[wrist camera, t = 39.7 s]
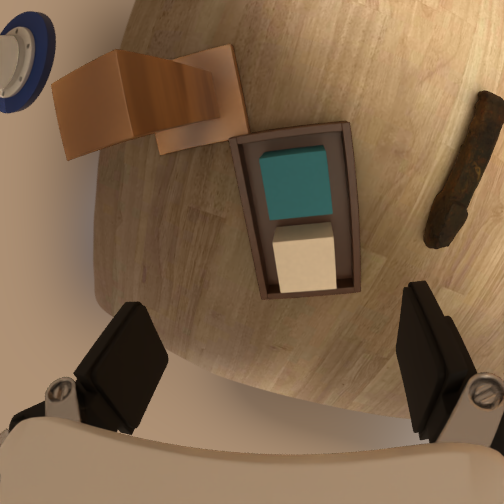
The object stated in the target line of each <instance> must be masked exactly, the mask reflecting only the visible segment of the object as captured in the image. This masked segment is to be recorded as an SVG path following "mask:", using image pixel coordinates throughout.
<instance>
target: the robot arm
mask: <svg viewBox="0 0 504 504" xmlns="http://www.w3.org/2000/svg"><path fill="white" fill-rule="evenodd" d="M34 57H35V40H34V36H33V34H32V32H31V31H30V29H28V28H26V27H16V28H13V29H12V30H10V31H9V32H8V33H7V34H6V35H0V97H2V98H8V97H12V96H14V95H16V94H17V93H18V92H19V91H20V90H21V89H22V87H23V86H24V84H25V83H26V81H27V79H28V77H29V75H30V72H31V70H32V66H33V62H34ZM396 354H397V359H398V363H399V367H400V371H401V375H402V379H403V383H404V388H405V392H406V397H407V402H408V407H409V412H410V417H411V422H412V427H413V431H414V433H417V432H419V438H420V440H425V439H429V443H428V444H419V445H411V446H403V447H394V448H387V449H379V450H370V451H359V452H346V453H332V454H303V455H281V454H280V455H279V454H253V453H238V452H227V451H226V452H225V451H217V450H208V449H200V448H193V447H186V446H179V445H173V444H168V443H162V442H156V441H152V440H147V439H142V438H138V437H133V436H129V435H132V433H133V431H134V429H135V428H137V427H138V426H139V424H140V422H141V419H142V417H143V415H144V413H145V411H146V408H147V406H148V404H149V402H150V400H151V398H152V396H153V393H154V391H155V389H156V387H157V385H158V383H159V381H160V379H161V376H162V374H163V372H164V370H165V368H166V366H167V364H168V354H167V352H166V350H165V348H164V346H163V344H162V342H161V340H160V338H159V335H158V333H157V331H156V329H155V327H154V325H153V322H152V320H151V318H150V316H149V313H148V311H147V309H146V307H145V306H143V305H142V304H141V303H140V302H126V303H125V304H124V305H123V306H122V307H121V309H120V310H119V311H118V312H117V314H116V315H115V316H114V318H113V319H112V320H111V322H110V323H109V324H108V326H107V327H106V328H105V330H104V331H103V332H102V334H101V335H100V337H99V338H98V339H97V341H96V342H95V343H94V345H93V346H92V348H91V349H90V350H89V352H88V353H87V355H86V356H85V357H84V359H83V360H82V362H81V363H80V364H79V366H78V367H77V369H76V370H75V372H74V375H75V376H76V377H77V380H76V382H75V381H74V380H73V379H72V378H70V377H62V378H59V379H57V380H55V381H54V382H53V383H51V384H50V386H49V387H48V388H47V391H46V393H45V401H43V402H41V403H39V404H37V405H34V406H32V407H30V408H28V409H26V410H24V411H21V412H19V413H18V414H16V415H14V417H13V418H12V420H11V422H10V425H9V430H8V429H6V430H4V431H3V432H2V433H0V504H504V381H503V380H502V379H501V378H500V377H499V376H497V375H495V374H493V373H488V372H483V373H477V371H476V369H475V366H474V364H473V362H472V360H471V357H470V355H469V353H468V351H467V349H466V346H465V344H464V342H463V340H462V338H461V336H460V334H459V332H458V330H457V328H456V326H455V324H454V322H453V320H452V318H451V317H450V316H444V315H443V313H442V311H441V309H440V307H439V305H438V303H437V301H436V299H435V297H434V295H433V293H432V291H431V290H430V288H429V286H428V284H427V282H426V281H417V282H410V283H409V284H408V287H404V289H403V296H402V306H401V314H400V322H399V329H398V336H397V343H396ZM117 430H119V431H120V432H121V433H126V434H129V435H125V434H121V433H117Z"/></svg>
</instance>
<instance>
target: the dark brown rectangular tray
mask: <svg viewBox="0 0 504 504" xmlns="http://www.w3.org/2000/svg"><path fill="white" fill-rule="evenodd" d="M229 144H230V149H231V153H232V158H233V163H234V168H235V173H236V178H237V183H238V188H239V192H240V197H241V202H242V207H243V212H244V217H245V222H246V226H247V231H248V236H249V241H250V246H251V251H252V256H253V260H254V265H255V270H256V275H257V280H258V285H259V290H260V294H261V299H262V300H266V299H283V298H298V297H311V296H323V295H335V294H346V293H356V292H361V258H360V229H359V210H358V195H357V183H356V172H355V161H354V152H353V143H352V135H351V128H350V122H347V121H339V122H328V123H318V124H309V125H301V126H293V127H285V128H278V129H271V130H265V131H258V132H252V133H249V134H245V135H239V136H234V137H231V138H229ZM317 145H323V146H324V148H325V150H326V156H327V164H328V172H329V180H330V190H331V199H332V210H333V214H328V215H318V216H308V217H298V218H288V219H279V220H270V219H269V213H268V208H267V202H266V196H265V191H264V185H263V180H262V174H261V169H260V163H259V158H260V157H261V156H262V155H263V153H264V152H269V151H276V150H283V149H291V148H299V147H308V146H317ZM325 222H331V226H332V231H333V236H334V249H335V266H336V286H337V288H336V289H328V290H315V291H302V292H288V293H281V292H280V286H279V280H278V274H277V268H276V261H275V255H274V249H273V239H274V234H275V230H276V227H283V226H293V225H303V224H314V223H325Z"/></svg>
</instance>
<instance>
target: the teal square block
mask: <svg viewBox="0 0 504 504" xmlns="http://www.w3.org/2000/svg"><path fill="white" fill-rule="evenodd" d="M259 163H260V169H261V174H262V180H263V185H264V191H265V196H266V202H267V208H268V213H269V219H270V220H279V219H288V218H298V217H308V216H318V215H328V214H333V210H332V199H331V190H330V180H329V172H328V164H327V156H326V150H325V148H324V146H323V145H317V146H308V147H299V148H291V149H283V150H276V151H269V152H264V153H263V155H262V156H261V157H260V158H259Z"/></svg>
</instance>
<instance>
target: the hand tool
mask: <svg viewBox="0 0 504 504" xmlns="http://www.w3.org/2000/svg"><path fill="white" fill-rule="evenodd" d="M478 96H479V101H478V102H477V103H476V104H475V108H476V111H475V114H474V117H473V120H472V122H471V124H470V127H469V132H468V134H467V136H466V139H465V141H464V144H463V145H462V146H461V150H460V153H459V155H458V158H457V160H456V163H455V165H454V168H453V170H452V172H451V174H450V176H449V178H448V180H447V182H446V185H445V187H444V189H443V190H442V192H441V193H439V194H438V195H437V196H436V198H435V200H434V203H433V206H432V208H431V212H430V215H429V219H428V222H427V226H426V230H425V234H424V243H425V244H426V246H427V247H428V248H434V249H439V248H442V247H446V246H449V245H450V243H451V242H452V241H453V239H454V237H455V236H456V234H457V233H458V231H459V230H460V229H461V227H462V226H463V225H464V223H465V221H466V219H467V217H468V212H467V207H468V205H469V203H470V200H471V198H472V196H473V193H474V191H475V189H476V188H477V186H478V184H479V182H480V180H481V177H482V175H483V173H484V171H485V169H486V166H487V164H488V162H489V160H490V157H491V154H492V152H493V150H494V147H495V145H496V142H497V140H498V136H499V133H500V130H501V128H502V125H503V123H504V100H503V99H502V98H501V97H499V96H497V95H495V94H493V93H490V92H488V91H485V90H484V91H481V92H479V93H478Z"/></svg>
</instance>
